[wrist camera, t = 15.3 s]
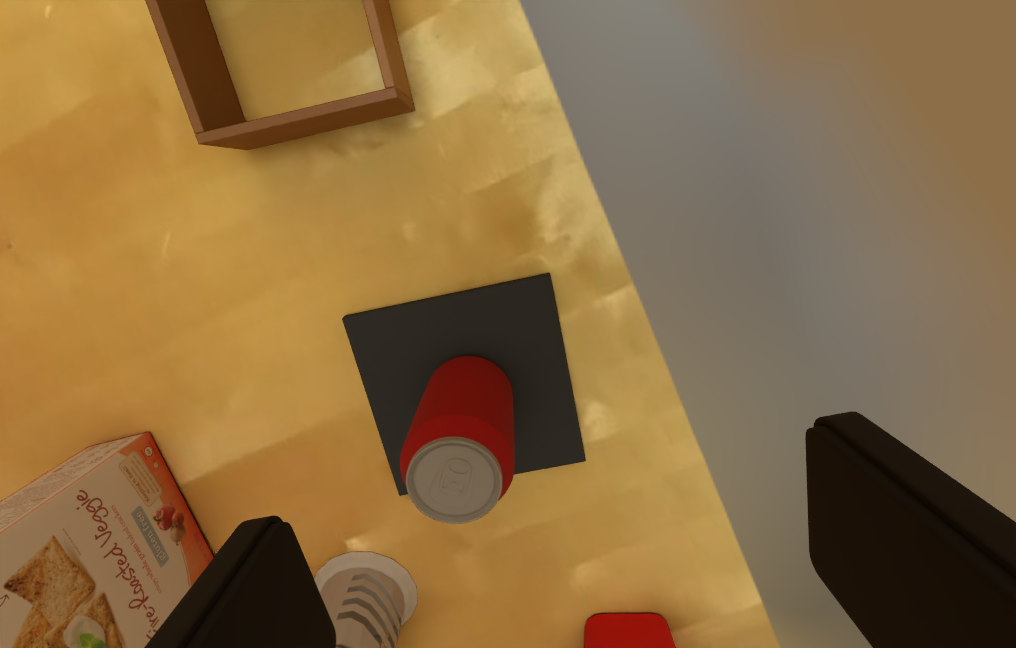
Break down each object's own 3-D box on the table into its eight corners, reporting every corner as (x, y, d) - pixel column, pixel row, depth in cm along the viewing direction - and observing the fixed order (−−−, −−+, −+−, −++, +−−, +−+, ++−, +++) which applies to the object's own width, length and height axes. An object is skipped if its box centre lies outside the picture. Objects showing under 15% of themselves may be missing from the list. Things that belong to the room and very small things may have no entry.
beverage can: (418, 417, 39) (380, 518, 27) (439, 341, 37) (408, 414, 25) (499, 439, 39) (495, 546, 28) (523, 365, 37) (531, 447, 26)
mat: (549, 272, 36) (550, 274, 35) (584, 456, 41) (585, 461, 40) (345, 315, 37) (341, 318, 36) (401, 490, 41) (399, 496, 41)
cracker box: (224, 561, 44) (-17, 885, 24) (163, 574, 44) (-125, 905, 24) (154, 426, 40) (-206, 677, 20) (87, 443, 40) (-331, 705, 20)
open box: (363, -101, 29) (332, -162, 24) (415, 111, 33) (398, 97, 28) (176, -52, 30) (107, -101, 25) (246, 150, 34) (198, 144, 28)
